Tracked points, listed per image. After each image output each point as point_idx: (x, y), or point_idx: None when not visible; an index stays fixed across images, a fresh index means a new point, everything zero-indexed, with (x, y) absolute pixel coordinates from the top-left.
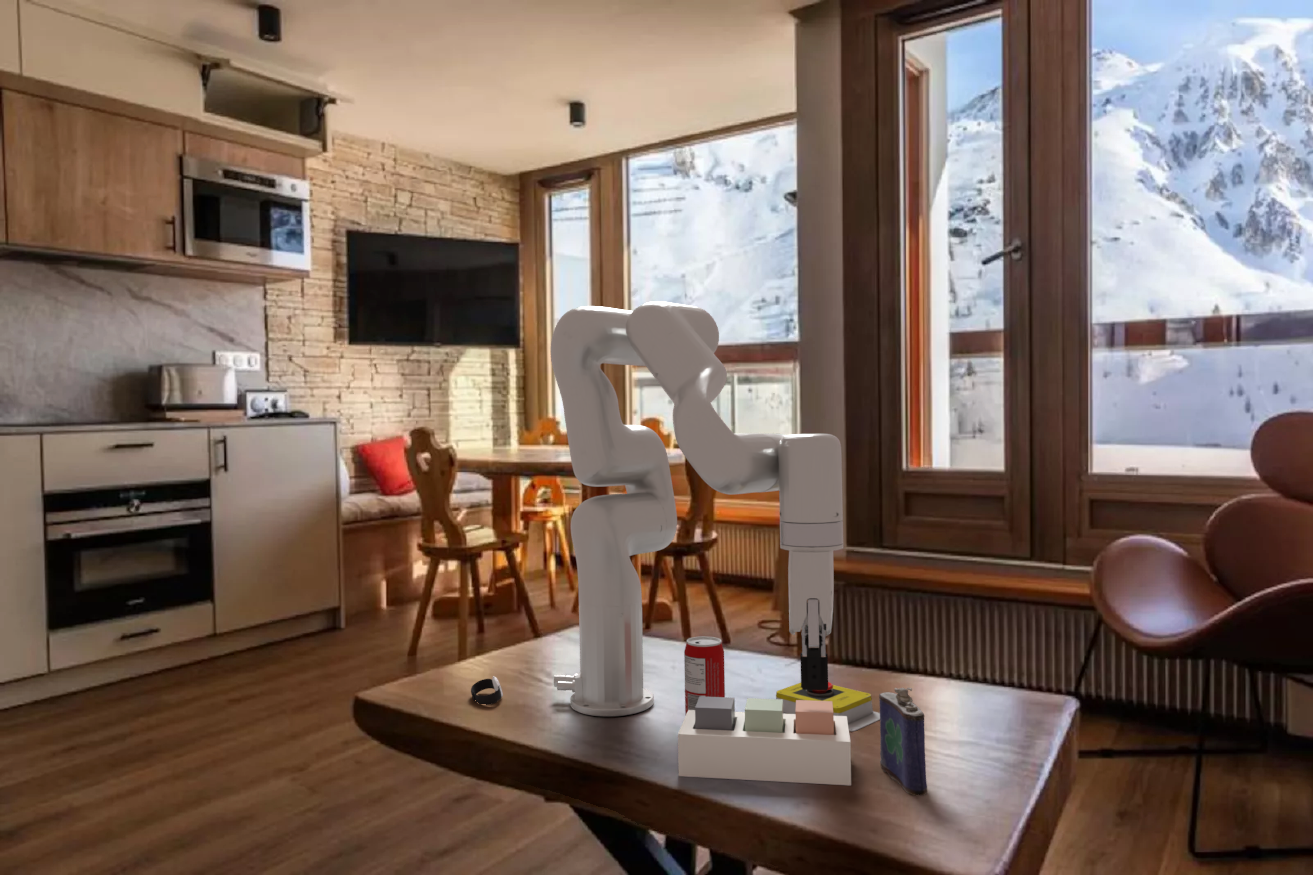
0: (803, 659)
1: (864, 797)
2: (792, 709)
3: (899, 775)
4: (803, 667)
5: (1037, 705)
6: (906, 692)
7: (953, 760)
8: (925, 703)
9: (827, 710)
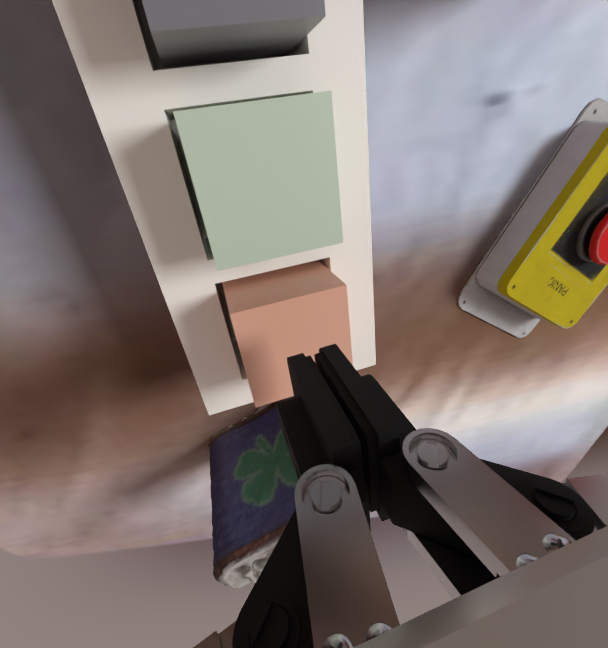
0: (327, 449)
1: (163, 390)
2: (555, 173)
3: (250, 426)
4: (314, 418)
5: (539, 473)
6: None
7: None
8: (566, 373)
9: (272, 389)
